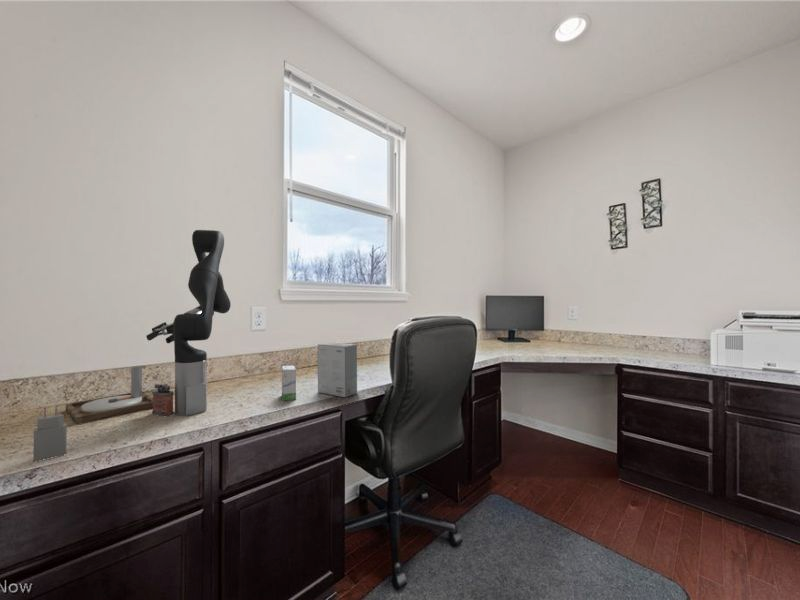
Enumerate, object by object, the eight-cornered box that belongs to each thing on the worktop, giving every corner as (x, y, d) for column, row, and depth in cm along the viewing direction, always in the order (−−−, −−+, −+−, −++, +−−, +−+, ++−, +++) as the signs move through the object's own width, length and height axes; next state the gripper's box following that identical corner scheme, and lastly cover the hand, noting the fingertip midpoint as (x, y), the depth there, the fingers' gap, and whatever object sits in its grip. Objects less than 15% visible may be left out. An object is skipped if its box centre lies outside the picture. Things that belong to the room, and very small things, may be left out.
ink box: (296, 399, 126) (296, 368, 126) (282, 401, 124) (282, 369, 124) (294, 393, 134) (294, 364, 134) (281, 395, 132) (281, 365, 132)
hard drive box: (357, 393, 134) (357, 344, 134) (345, 398, 128) (345, 346, 128) (330, 388, 143) (330, 342, 143) (316, 392, 136) (316, 344, 136)
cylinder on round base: (149, 404, 117) (149, 369, 117) (86, 417, 104) (86, 377, 104) (136, 396, 127) (136, 363, 127) (77, 406, 114) (77, 371, 114)
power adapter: (34, 457, 79) (34, 407, 79) (66, 450, 83) (66, 403, 83) (33, 462, 77) (33, 411, 77) (66, 454, 81) (66, 405, 81)
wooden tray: (158, 407, 117) (158, 401, 117) (76, 424, 100) (76, 417, 100) (141, 396, 130) (141, 391, 130) (65, 410, 113) (65, 404, 113)
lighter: (176, 413, 110) (176, 383, 110) (166, 417, 107) (166, 386, 107) (159, 411, 113) (159, 382, 113) (149, 414, 109) (149, 384, 110)
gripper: (173, 310, 138) (138, 328, 124) (203, 314, 136) (170, 333, 121) (178, 326, 141) (144, 345, 127) (207, 330, 139) (175, 350, 124)
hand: (157, 339), depth 124 cm, fingers open, 8 cm apart
